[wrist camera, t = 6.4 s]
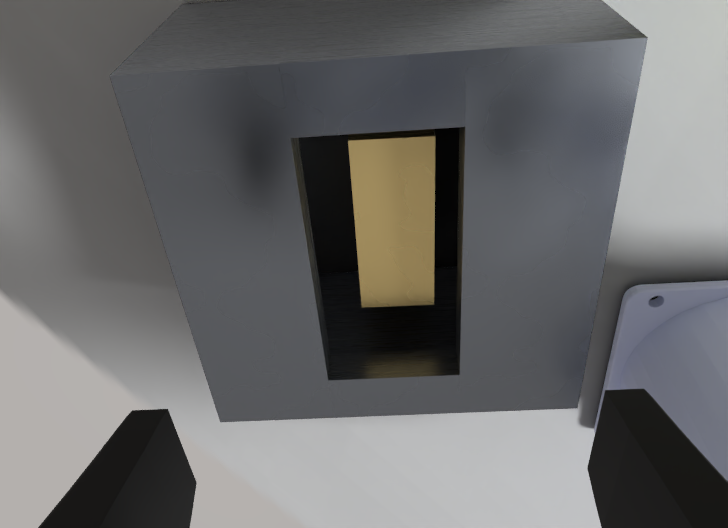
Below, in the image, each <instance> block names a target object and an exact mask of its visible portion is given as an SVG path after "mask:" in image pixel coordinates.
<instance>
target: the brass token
mask: <svg viewBox="0 0 728 528" xmlns="http://www.w3.org/2000/svg"><path fill="white" fill-rule="evenodd" d="M348 147H349V160H350V172H351V184H352V196H353V208H354V220H355V232H356V244H357V256H358V269H359V281H360V293H361V305H362V307H388V306H413V305H434V251H435V132H434V129H424V130H408V131H393V132H377V133H362V134H348Z"/></svg>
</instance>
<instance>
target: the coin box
mask: <svg viewBox="0 0 728 528" xmlns="http://www.w3.org/2000/svg"><path fill="white" fill-rule="evenodd" d="M647 38H648V37H646V36H645V35H644V34H643V33H641V32H640V31H639V30H638V29H636V28H635V27H634V26H633V25H632V24H630V23H629V22H628V21H627V20H625V19H624V18H623V17H622V16H620V15H619V14H618V13H617V12H616V11H614V10H613V9H612V8H611V7H609V6H608V5H607V4H606V3H604V2H603V1H602V0H231V1H218V2H205V3H192V4H182V5H181V6H180V7H179V8H178V9H177V10H176V11H175V12H174V13H173V14H172V15H171V16H170V17H169V18H168V19H167V20H166V21H165V22H164V23H163V24H162V25H161V26H160V27H159V28H158V29H157V30H156V31H155V32H154V33H153V34H151V35H150V36H149V37H148V38H147V39H146V40H145V41H144V42H143V43H142V44H141V45H140V46H139V47H138V48H137V49H136V50H135V51H134V52H133V53H132V54H131V55H130V56H129V57H128V58H127V59H126V60H125V61H124V62H123V63H122V64H121V65H120V66H119V67H118V68H117V69H116V70H115V71H114V72H113V73H112V74H111V75H110V79H111V82H112V85H113V88H114V92H115V95H116V98H117V101H118V104H119V107H120V110H121V113H122V117H123V120H124V123H125V126H126V129H127V132H128V135H129V138H130V141H131V145H132V148H133V151H134V154H135V157H136V160H137V163H138V166H139V170H140V173H141V176H142V179H143V182H144V185H145V188H146V191H147V195H148V198H149V201H150V204H151V207H152V210H153V213H154V216H155V220H156V223H157V226H158V229H159V232H160V235H161V238H162V241H163V244H164V248H165V251H166V254H167V257H168V260H169V263H170V266H171V269H172V273H173V276H174V279H175V282H176V285H177V288H178V291H179V294H180V298H181V301H182V304H183V307H184V310H185V313H186V316H187V319H188V323H189V326H190V329H191V332H192V335H193V338H194V341H195V344H196V347H197V351H198V354H199V357H200V360H201V363H202V366H203V369H204V372H205V376H206V379H207V382H208V385H209V388H210V391H211V394H212V397H213V401H214V404H215V407H216V410H217V413H218V416H219V419H220V422H235V421H261V420H286V419H312V418H338V417H363V416H389V415H414V414H440V413H465V412H491V411H517V410H542V409H568V408H577V407H578V402H579V397H580V391H581V386H582V381H583V376H584V370H585V365H586V360H587V354H588V349H589V344H590V339H591V333H592V328H593V323H594V318H595V312H596V307H597V302H598V296H599V291H600V286H601V281H602V275H603V270H604V265H605V260H606V254H607V249H608V244H609V238H610V233H611V228H612V223H613V217H614V212H615V207H616V202H617V196H618V191H619V186H620V181H621V175H622V170H623V165H624V159H625V154H626V149H627V144H628V138H629V133H630V128H631V123H632V117H633V112H634V107H635V101H636V96H637V91H638V86H639V80H640V75H641V70H642V65H643V59H644V54H645V49H646V43H647ZM455 127H459V177H458V237H457V266H454V267H434V305H413V306H388V307H362V305H361V293H360V281H359V271H358V272H338V273H319V274H318V267H317V261H316V254H315V247H314V240H313V234H312V227H311V220H310V213H309V207H308V200H307V193H306V186H305V179H304V173H303V166H302V159H301V152H300V146H299V139H298V138H300V137H315V136H331V135H346V134H362V133H377V132H393V131H408V130H424V129H439V128H455Z"/></svg>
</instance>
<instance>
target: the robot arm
mask: <svg viewBox="0 0 728 528" xmlns="http://www.w3.org/2000/svg"><path fill="white" fill-rule="evenodd" d="M654 296H659V297H658V298H656V299H655V300H650V299H651V298H652V297H654ZM594 431H595V437H594V442H593V446H592V451H591V455H590V460H589V464H588V472H589V477H590V481H591V485H592V490H593V494H594V498H595V503H596V507H597V511H598V515H599V519H600V522H601V526H602V528H728V280H725V281H705V282H685V283H665V284H644V285H636V286H633V287H631V288H629V289H628V290H627V291H626V292H625V294H624V296H623V300H622V304H621V309H620V313H619V318H618V322H617V327H616V332H615V336H614V341H613V345H612V350H611V354H610V359H609V363H608V368H607V372H606V377H605V382H604V386H603V391H602V395H601V400H600V404H599V409H598V413H597V418H596V423H595V427H594ZM195 489H196V480H195V478H194V475H193V473H192V470H191V468H190V465H189V462H188V460H187V457H186V455H185V452H184V450H183V447H182V444H181V442H180V439H179V437H178V434H177V432H176V429H175V427H174V424H173V421H172V419H171V416H170V414H169V411H168V409H158V410H135V411H132V412H131V413H130V414H129V415H128V416H127V417H126V418H125V420H124V421H123V422H122V423H121V425H120V426H119V427H118V428H117V430H116V431H115V432H114V434H113V435H112V436H111V437H110V439H109V440H108V441H107V443H106V444H105V445H104V446H103V448H102V449H101V451H100V452H99V453H98V454H97V455H96V457H95V458H94V460H92V462H91V463H90V465H89V466H88V467H87V468H86V469H85V471H84V472H83V473H82V474H81V476H80V477H79V478H78V479H77V481H76V482H75V483H74V485H73V486H72V487H71V488H70V490H69V491H68V492H67V493H66V494H65V496H64V497H63V498H62V499H61V501H60V502H59V503H58V504H57V505H56V507H55V508H54V509H53V510H52V512H51V513H50V514H49V515H48V516H47V518H46V519H45V520H44V522H43V523H42V524H41V525H40V526H39V527H38V528H189V527H190V521H191V515H192V508H193V502H194V495H195Z"/></svg>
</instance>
